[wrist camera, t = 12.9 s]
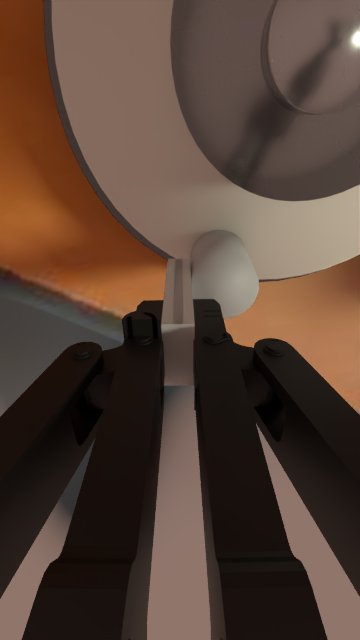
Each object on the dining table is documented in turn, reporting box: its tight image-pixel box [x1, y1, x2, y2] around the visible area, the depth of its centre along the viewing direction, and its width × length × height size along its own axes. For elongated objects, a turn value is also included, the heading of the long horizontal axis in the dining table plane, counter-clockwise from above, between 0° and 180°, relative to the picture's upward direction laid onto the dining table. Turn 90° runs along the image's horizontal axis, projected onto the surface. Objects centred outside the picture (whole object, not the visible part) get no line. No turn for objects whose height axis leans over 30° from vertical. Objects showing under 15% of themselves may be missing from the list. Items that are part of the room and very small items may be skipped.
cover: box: [170, 0, 360, 201], centre depth 11 cm, size 9×9×6 cm
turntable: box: [52, 0, 360, 318], centre depth 13 cm, size 20×20×6 cm
